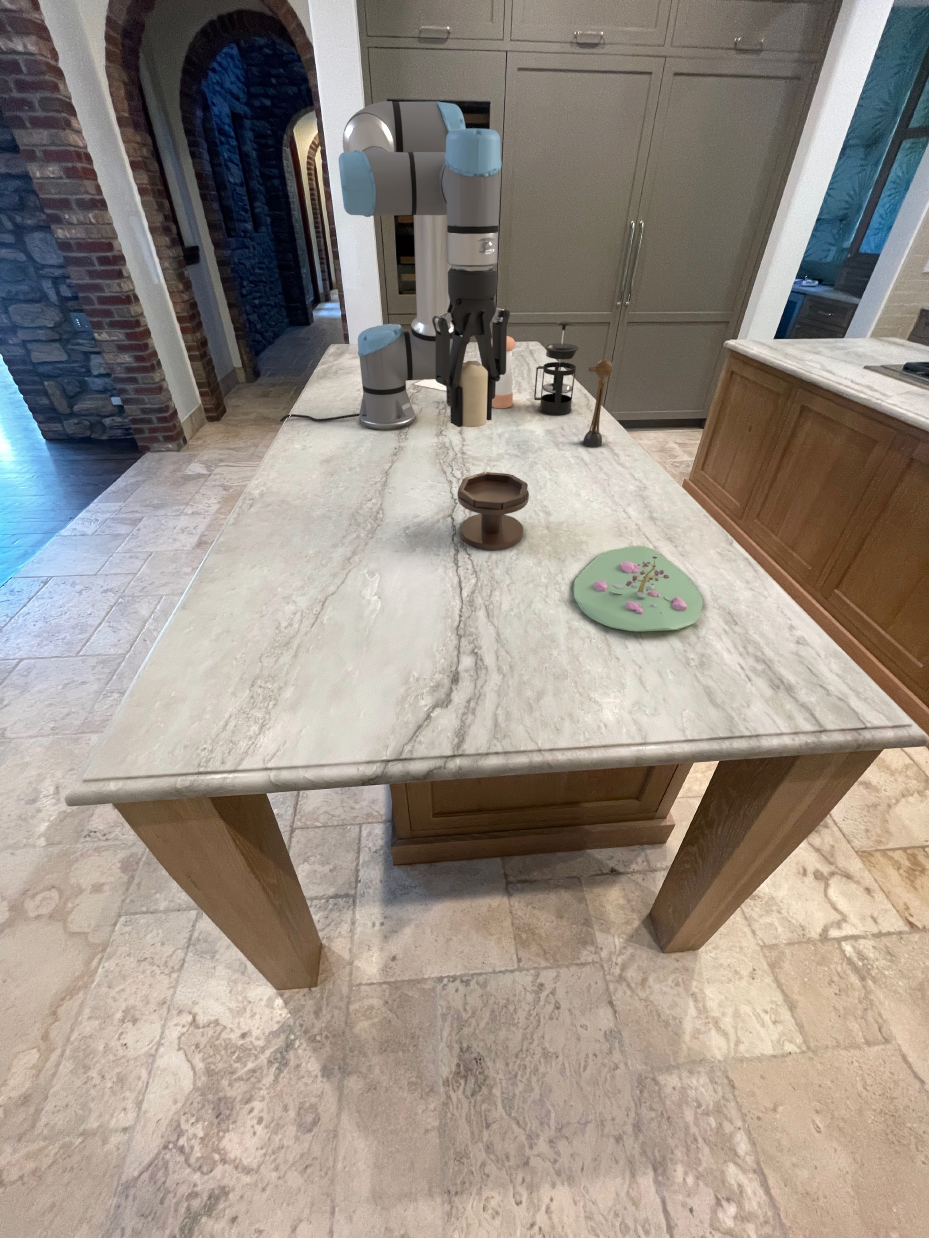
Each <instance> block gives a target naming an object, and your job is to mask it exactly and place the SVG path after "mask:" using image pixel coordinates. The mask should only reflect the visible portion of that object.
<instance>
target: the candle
mask: <svg viewBox="0 0 929 1238" xmlns="http://www.w3.org/2000/svg"><path fill="white" fill-rule="evenodd" d="M487 382H488V371H487V370H486V369H485V368H484V367H483V366H482V363H481V362H479V361H478V360H467V361H465V362H464V361H463V366H462V370H461V375H460V380H459V384H458V386H460V387H462V393H463V427H462V428H480V427H483V426H485V425H486V424H487V421H488V420H487Z"/></svg>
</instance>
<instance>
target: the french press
mask: <svg viewBox="0 0 929 1238" xmlns="http://www.w3.org/2000/svg"><path fill="white" fill-rule="evenodd" d="M556 325H558V326H561V331H562V335H561V342H560V343H559V342H558V343H557V342H556V343H555V342H554V343H549V344H546V345H545V346H544V348H545V350H546V352H545V353H546V354H545V355H546V357H547V358H549V359H552V360H559V361H552V362H551V361H550V362H547V363H544V364H543V365H537V366H536V368H535V381H534V393H533V399H534V401H540V403H539V407H538V411H539V412H541V413H542V414H545V415H548V416H565V415H568V414H570V413H572V402H573V393H574V387H575V386H574V385H575V378H576V369H577V366H576V365H575V364H573V363H570V362H564V361H562V360H571V359H573V358H574V356H575V355H576V353H577V351H578V350H579V346H577V345H575V344H571V343H564V337H565V331H566V327H567V326H571V325H573V323H572V322H571V321H568V320H563V321H562V320H561V321H557V322H556ZM551 368H554V369H551ZM562 368H565V369H568V370H562ZM539 370H542V379H541V391H540V396H539V397H538V396H537V387H538V386H537V384H538V373H539ZM545 374H547V375H550V376H553V382H548V383H545V384H544V382H545V381H544V380H545ZM572 375H573V376H572ZM565 376H566V377H567V376H572V384H571V385H570V384H567V383H564V377H565ZM544 391H545V392H547V393H545V394H543V392H544ZM568 393H570V395H567V394H568Z"/></svg>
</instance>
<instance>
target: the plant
mask: <svg viewBox="0 0 929 1238" xmlns="http://www.w3.org/2000/svg"><path fill="white" fill-rule="evenodd" d="M572 587H573V588H572V589H573V598H574V600H575V602H576V603H577V605H578V607H579V608H580V610H581V611H582V612H583V613H584V615H586V616H587V617H588V618H590V619H591V620H593V621H595V622H596V623H599V624H601V625H604V626H606V627H609V628H612V629H618V630H621V631H622V630H624V631H629V632H659V631H678V630H681V629H684V628H687V627H690V626H692V625H694V624H696V622H698V620H699V618H700V616H701V614H702V613H701V612H702V609H703V605H704V604H703V597H702V595H701V594H700V592H699V590H698V588H696V586H695V584H693V582H692V581H691V580H690V578H689V577H688V576H687V574H685V573H684V572H683V571H682V570H681V569H680V568H679V567H677V566H676V565H674V564H673V563H672V562H671V561H670V560H668V559H667V558H666V557H664V556H663V555H662V554H660V553H659V552H658V551H656V550H655V549H653V548H650V547H648V546H643V545H637V546H636V545H635V546H628V547H621V548H616V549H611V550H608V551H605V552H602V553H600V554H599V555H597V556H596V557H595V558H594V559H593V560H592V561H590V563H589V564H588V565H586V567H584V568H583V570H582V571H580V573H579V574H578V575H577V576H576V577H575V580H574V582H573V586H572Z"/></svg>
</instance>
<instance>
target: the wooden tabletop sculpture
mask: <svg viewBox="0 0 929 1238" xmlns="http://www.w3.org/2000/svg"><path fill="white" fill-rule="evenodd" d="M613 367H614V366H613V364H612V362H611V360H609V359H601V360H600V361H598V362H597V364H596V366H589V367H588V372H589V373H595V374H596V375H597V377H599V378H600V380H599V381H598V387H597V392H596V400H595V404H594V411H593V416H592V419H591V423H590V427H589V430H588V431H587V432H586V433H585V435H584V437H583V440H582V445H584V446H585V447H588V448H599V447H602V444H603V436H602V434H601V432H600V421H601V420H600V419H601V411H602V410H601V409H602V403H603V398H604V397H603V396H604V390H605V384H606V381H605V378H607V377H609V376H610V375H611V373H612V371H613Z"/></svg>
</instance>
